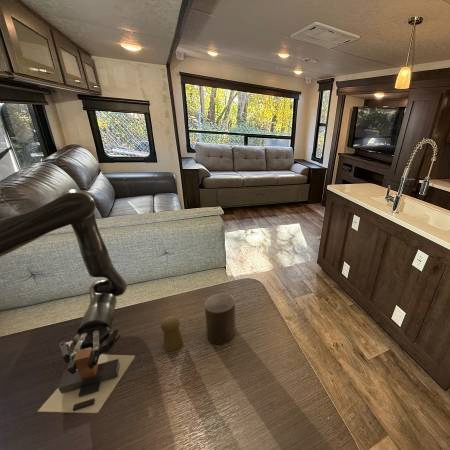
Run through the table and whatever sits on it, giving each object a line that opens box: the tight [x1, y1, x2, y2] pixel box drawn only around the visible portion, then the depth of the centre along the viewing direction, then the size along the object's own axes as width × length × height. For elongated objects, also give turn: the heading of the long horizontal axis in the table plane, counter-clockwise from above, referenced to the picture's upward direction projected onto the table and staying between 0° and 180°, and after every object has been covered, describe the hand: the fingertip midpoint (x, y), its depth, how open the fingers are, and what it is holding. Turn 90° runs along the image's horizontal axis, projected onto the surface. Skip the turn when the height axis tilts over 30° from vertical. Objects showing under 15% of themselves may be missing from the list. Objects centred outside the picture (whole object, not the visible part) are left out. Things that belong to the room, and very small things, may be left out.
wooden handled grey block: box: [58, 347, 120, 394], centre depth 65 cm, size 12×4×10 cm, turn 116°
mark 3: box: [73, 398, 95, 411], centre depth 61 cm, size 4×1×1 cm, turn 116°
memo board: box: [37, 353, 136, 414], centre depth 67 cm, size 14×16×1 cm
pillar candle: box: [204, 293, 237, 345], centre depth 84 cm, size 10×10×15 cm
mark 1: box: [80, 381, 100, 391], centre depth 65 cm, size 4×1×1 cm, turn 116°
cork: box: [160, 315, 185, 353], centre depth 78 cm, size 6×6×11 cm
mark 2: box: [78, 385, 99, 397], centre depth 64 cm, size 4×1×1 cm, turn 116°
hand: (81, 368), depth 62 cm, fingers closed on wooden handled grey block, 3 cm apart
